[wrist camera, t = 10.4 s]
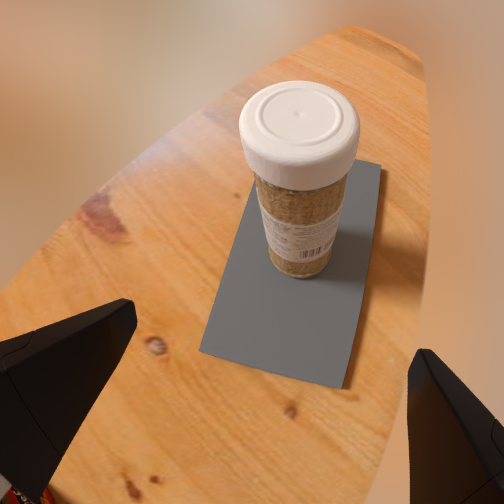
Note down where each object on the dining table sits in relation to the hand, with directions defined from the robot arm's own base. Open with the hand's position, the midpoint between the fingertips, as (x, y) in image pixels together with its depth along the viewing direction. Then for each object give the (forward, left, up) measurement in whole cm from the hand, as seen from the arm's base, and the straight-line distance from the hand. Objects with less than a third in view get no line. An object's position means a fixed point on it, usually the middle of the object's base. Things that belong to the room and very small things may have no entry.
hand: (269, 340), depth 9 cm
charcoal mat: (+4, -7, -13) cm, 15 cm away
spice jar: (+4, -7, -12) cm, 15 cm away
